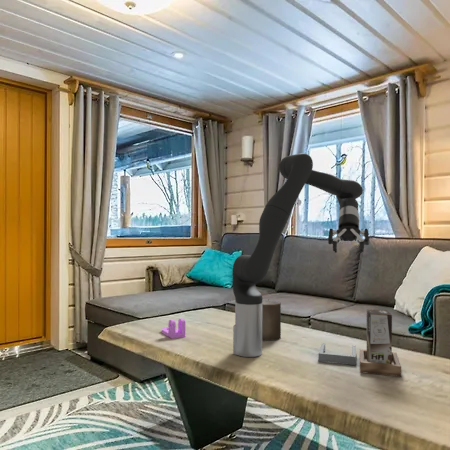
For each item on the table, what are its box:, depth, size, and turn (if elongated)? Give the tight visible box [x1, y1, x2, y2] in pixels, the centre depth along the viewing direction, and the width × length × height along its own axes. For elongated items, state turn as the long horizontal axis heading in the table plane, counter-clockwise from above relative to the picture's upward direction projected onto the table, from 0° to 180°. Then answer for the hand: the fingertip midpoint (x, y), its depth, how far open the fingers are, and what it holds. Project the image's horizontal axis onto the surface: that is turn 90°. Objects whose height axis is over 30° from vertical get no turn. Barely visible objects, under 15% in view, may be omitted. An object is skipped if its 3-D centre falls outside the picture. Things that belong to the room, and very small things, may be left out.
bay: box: [317, 342, 357, 366], centre depth 134 cm, size 11×13×2 cm
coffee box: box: [366, 309, 393, 364], centre depth 125 cm, size 9×6×16 cm
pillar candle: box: [262, 299, 282, 341], centre depth 158 cm, size 10×10×15 cm
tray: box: [359, 348, 402, 378], centre depth 124 cm, size 11×14×3 cm
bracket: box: [161, 318, 186, 339], centre depth 162 cm, size 13×6×7 cm, turn 31°
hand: (348, 251), depth 144 cm, fingers open, 8 cm apart
